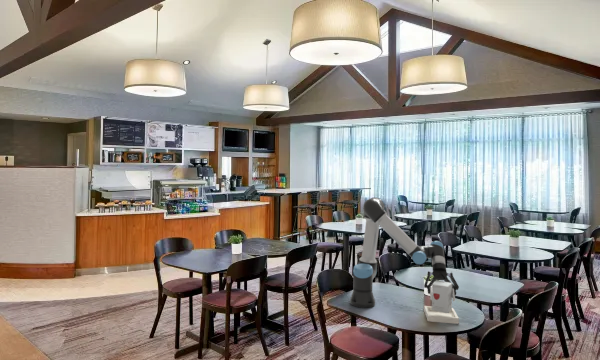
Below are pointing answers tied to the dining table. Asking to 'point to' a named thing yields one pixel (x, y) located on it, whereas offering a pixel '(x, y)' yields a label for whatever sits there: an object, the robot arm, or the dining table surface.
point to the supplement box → (442, 296)
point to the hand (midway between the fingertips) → (442, 299)
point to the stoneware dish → (441, 316)
